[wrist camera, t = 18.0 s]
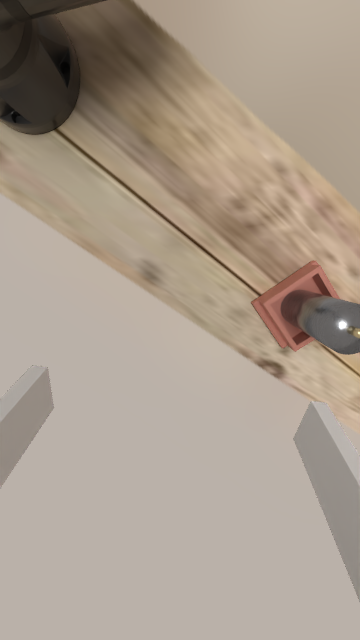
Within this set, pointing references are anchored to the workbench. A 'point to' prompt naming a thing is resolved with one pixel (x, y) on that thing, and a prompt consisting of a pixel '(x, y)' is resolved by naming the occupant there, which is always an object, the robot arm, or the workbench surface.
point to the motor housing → (324, 319)
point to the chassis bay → (270, 301)
